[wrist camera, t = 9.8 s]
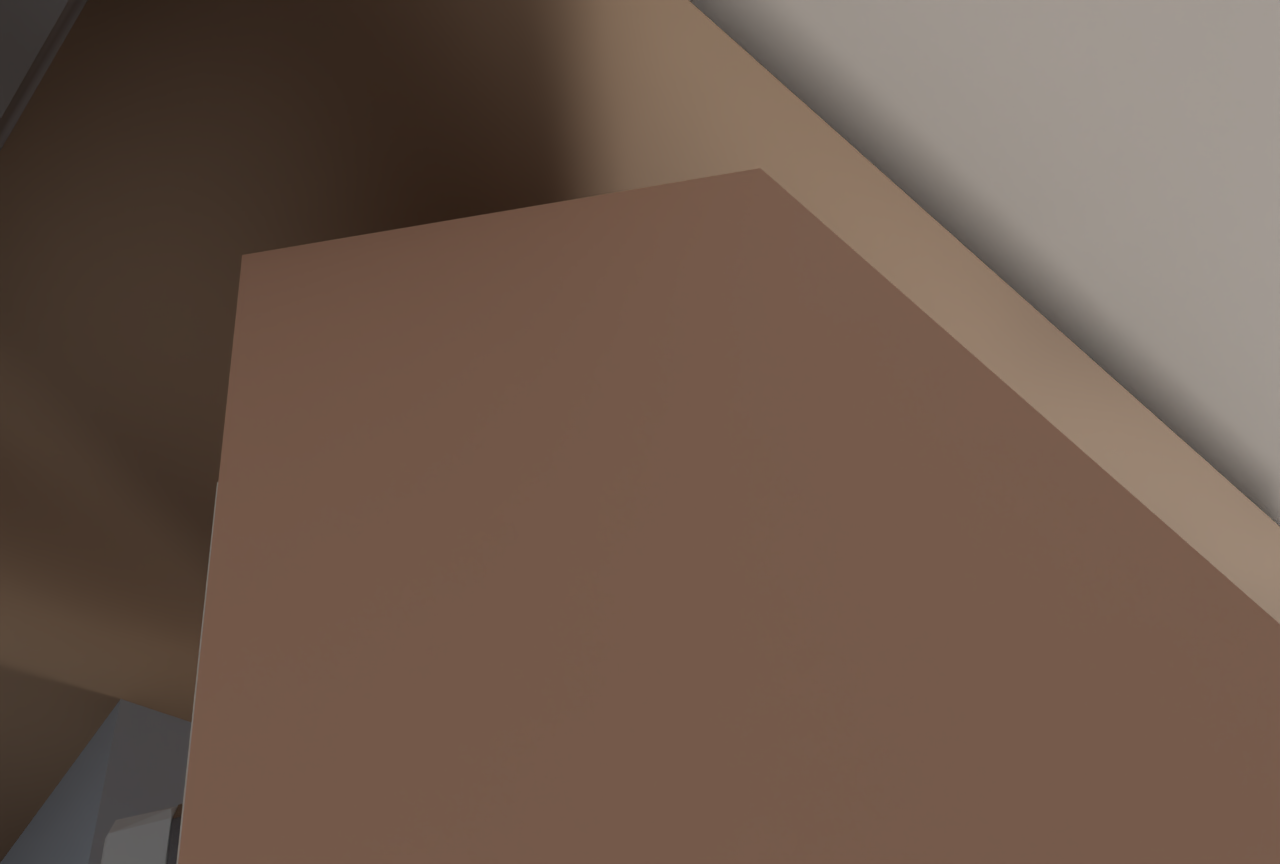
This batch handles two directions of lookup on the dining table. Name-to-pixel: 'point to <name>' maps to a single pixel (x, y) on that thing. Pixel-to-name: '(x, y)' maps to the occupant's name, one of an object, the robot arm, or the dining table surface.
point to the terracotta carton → (687, 571)
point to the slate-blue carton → (108, 786)
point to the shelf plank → (362, 204)
